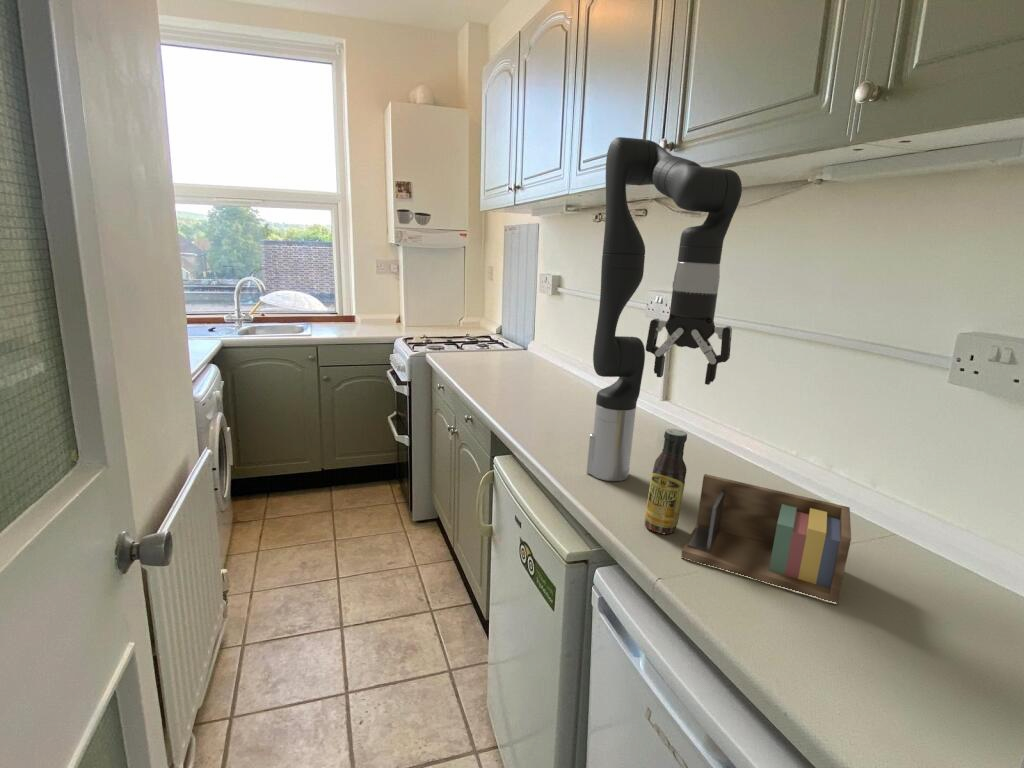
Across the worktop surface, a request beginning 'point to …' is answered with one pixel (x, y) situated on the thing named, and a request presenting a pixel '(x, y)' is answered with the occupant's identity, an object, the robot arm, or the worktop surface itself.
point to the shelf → (761, 533)
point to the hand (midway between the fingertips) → (683, 380)
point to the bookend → (707, 536)
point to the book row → (805, 545)
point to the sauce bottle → (667, 484)
